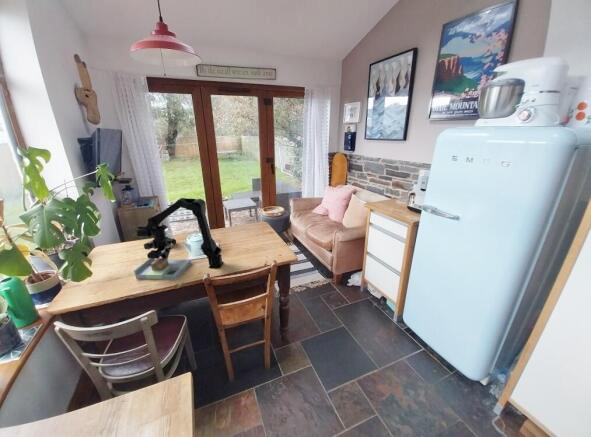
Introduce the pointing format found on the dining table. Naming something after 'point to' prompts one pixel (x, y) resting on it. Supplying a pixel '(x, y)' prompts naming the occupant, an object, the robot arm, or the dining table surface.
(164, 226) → the robot arm
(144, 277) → the box
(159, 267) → the walnut block
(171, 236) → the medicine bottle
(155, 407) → the dining table surface
